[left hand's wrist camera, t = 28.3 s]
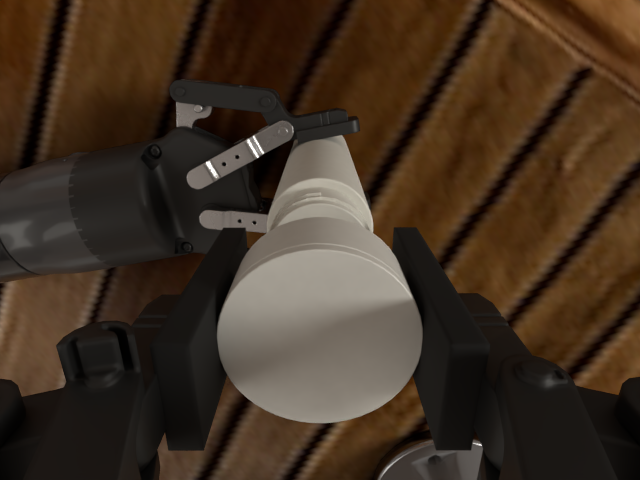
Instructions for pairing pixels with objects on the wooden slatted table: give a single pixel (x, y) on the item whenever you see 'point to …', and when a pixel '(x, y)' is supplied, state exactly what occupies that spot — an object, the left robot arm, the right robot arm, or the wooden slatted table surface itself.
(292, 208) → the off-white cylindrical rod
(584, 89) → the wooden slatted table surface
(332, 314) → the lid
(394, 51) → the wooden slatted table surface
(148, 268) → the wooden slatted table surface
